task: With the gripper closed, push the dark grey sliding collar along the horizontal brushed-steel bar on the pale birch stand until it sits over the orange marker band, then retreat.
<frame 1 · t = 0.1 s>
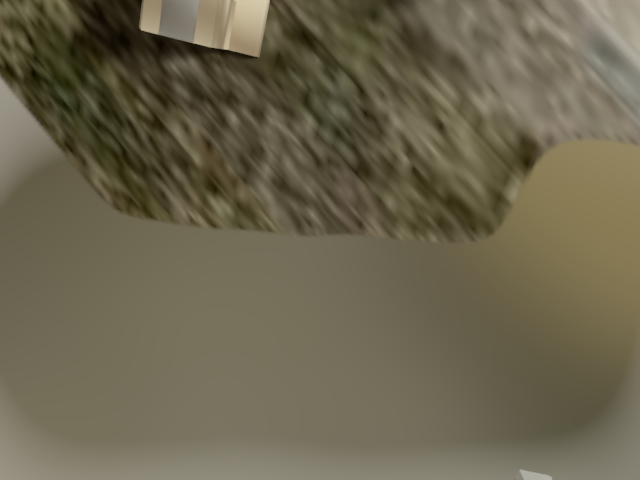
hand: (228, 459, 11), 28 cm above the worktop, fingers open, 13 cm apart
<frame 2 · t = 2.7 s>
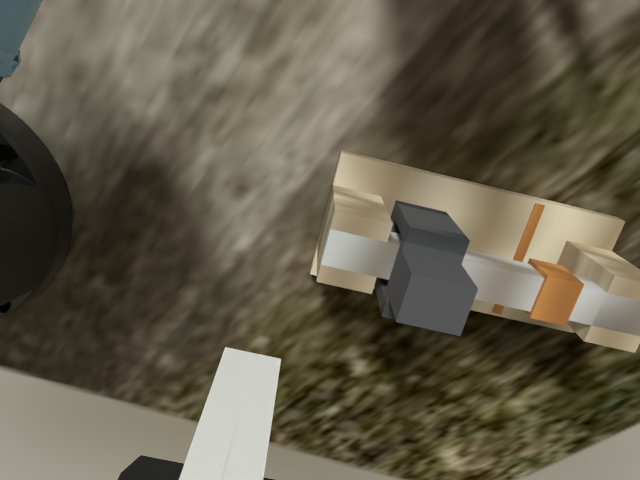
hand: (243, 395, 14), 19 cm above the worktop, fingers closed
dark grey sliding collar: (420, 271, 26), point 7 cm above the worktop, slide at 0.0 cm
rail: (460, 243, 33), on the worktop
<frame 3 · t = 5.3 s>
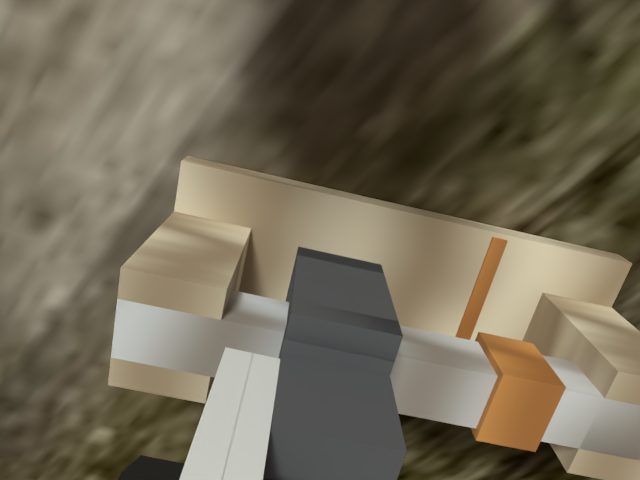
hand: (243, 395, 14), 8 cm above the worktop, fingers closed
dark grey sliding collar: (325, 378, 15), point 7 cm above the worktop, slide at 1.4 cm, touching gripper
rail: (383, 294, 22), on the worktop
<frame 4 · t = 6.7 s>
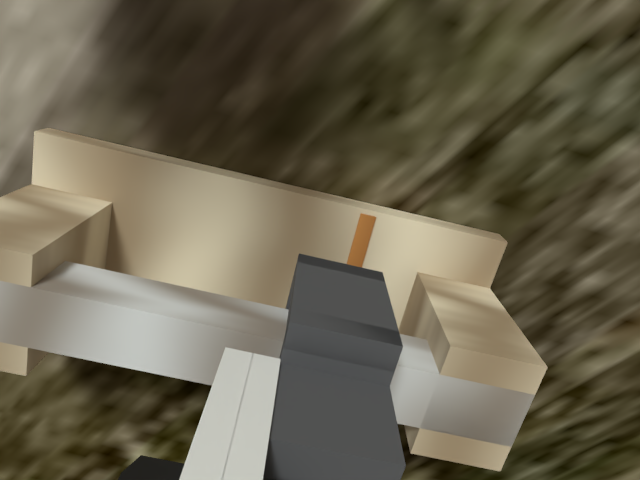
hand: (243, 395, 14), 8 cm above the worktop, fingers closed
dark grey sliding collar: (324, 388, 15), point 7 cm above the worktop, slide at 6.7 cm, touching gripper
rail: (261, 274, 21), on the worktop
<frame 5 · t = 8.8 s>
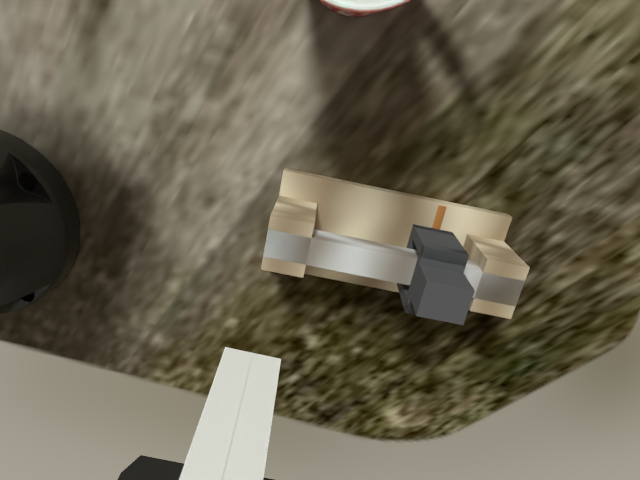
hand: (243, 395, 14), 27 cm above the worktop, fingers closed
dark grey sliding collar: (433, 278, 34), point 7 cm above the worktop, slide at 6.7 cm
rail: (385, 238, 41), on the worktop
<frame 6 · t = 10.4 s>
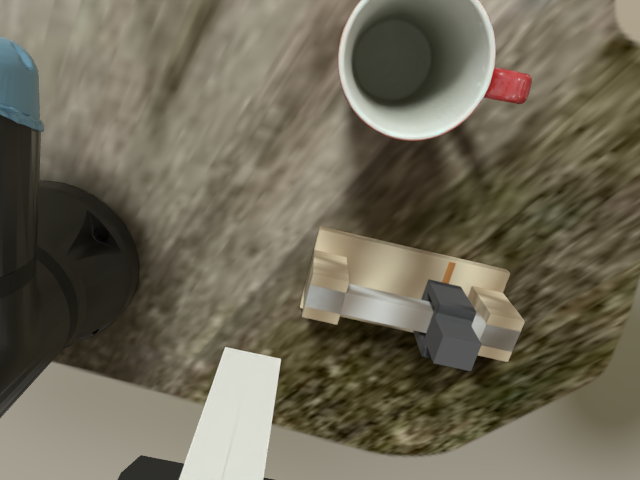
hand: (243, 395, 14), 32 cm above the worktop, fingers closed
mug: (409, 67, 42), on the worktop
dark grey sliding collar: (445, 328, 42), point 7 cm above the worktop, slide at 6.7 cm
rail: (402, 286, 48), on the worktop
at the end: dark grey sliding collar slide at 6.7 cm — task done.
